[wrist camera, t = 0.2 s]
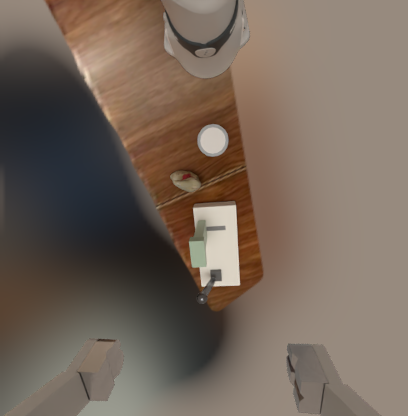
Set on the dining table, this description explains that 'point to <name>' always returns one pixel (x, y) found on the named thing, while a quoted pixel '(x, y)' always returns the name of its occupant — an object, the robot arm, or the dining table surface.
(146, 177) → the dining table surface
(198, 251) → the capped sage pillar
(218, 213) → the control bank
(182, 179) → the chocolate bunny
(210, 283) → the graphite lever
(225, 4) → the robot arm
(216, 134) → the white tapered cup
